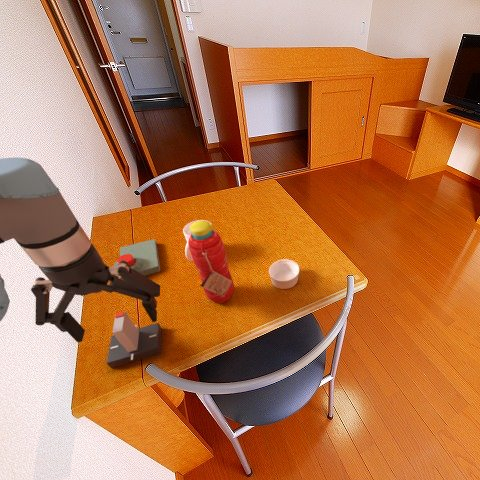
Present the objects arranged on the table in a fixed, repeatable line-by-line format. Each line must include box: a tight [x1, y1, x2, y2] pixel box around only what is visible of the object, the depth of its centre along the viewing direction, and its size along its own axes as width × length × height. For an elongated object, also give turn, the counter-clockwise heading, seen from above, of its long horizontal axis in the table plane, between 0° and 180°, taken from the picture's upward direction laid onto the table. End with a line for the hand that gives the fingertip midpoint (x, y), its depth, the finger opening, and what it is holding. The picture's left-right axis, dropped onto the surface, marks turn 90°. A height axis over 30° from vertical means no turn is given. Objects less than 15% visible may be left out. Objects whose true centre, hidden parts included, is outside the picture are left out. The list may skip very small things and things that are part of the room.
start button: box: [116, 254, 135, 267], centre depth 80 cm, size 4×4×2 cm
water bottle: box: [188, 220, 235, 304], centre depth 68 cm, size 12×8×25 cm, turn 18°
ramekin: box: [268, 258, 300, 290], centre depth 81 cm, size 9×9×4 cm
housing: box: [113, 238, 161, 281], centre depth 85 cm, size 14×11×4 cm
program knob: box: [111, 311, 139, 352], centre depth 61 cm, size 5×2×8 cm, turn 22°
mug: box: [182, 219, 213, 262], centre depth 86 cm, size 12×8×10 cm
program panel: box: [106, 322, 163, 369], centre depth 64 cm, size 10×9×3 cm
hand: (119, 326), depth 59 cm, fingers open, 13 cm apart
